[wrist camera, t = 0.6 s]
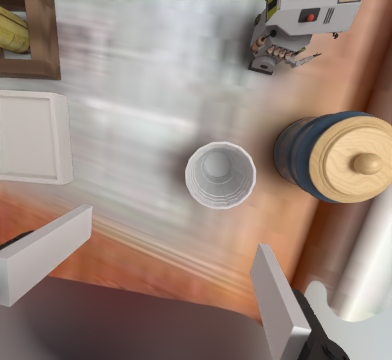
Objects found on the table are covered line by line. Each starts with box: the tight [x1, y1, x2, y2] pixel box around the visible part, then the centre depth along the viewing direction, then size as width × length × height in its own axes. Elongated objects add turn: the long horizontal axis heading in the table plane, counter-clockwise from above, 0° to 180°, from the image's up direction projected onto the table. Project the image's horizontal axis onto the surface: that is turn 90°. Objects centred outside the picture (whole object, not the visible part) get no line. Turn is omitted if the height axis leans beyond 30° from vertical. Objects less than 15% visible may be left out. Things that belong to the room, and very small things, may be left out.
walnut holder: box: [0, 0, 61, 80], centre depth 37 cm, size 14×14×4 cm
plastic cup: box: [185, 142, 256, 209], centre depth 36 cm, size 11×11×12 cm
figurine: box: [249, 0, 362, 75], centre depth 29 cm, size 9×12×15 cm
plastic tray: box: [0, 90, 74, 185], centre depth 42 cm, size 18×16×4 cm
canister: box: [274, 111, 392, 203], centre depth 31 cm, size 13×13×18 cm
